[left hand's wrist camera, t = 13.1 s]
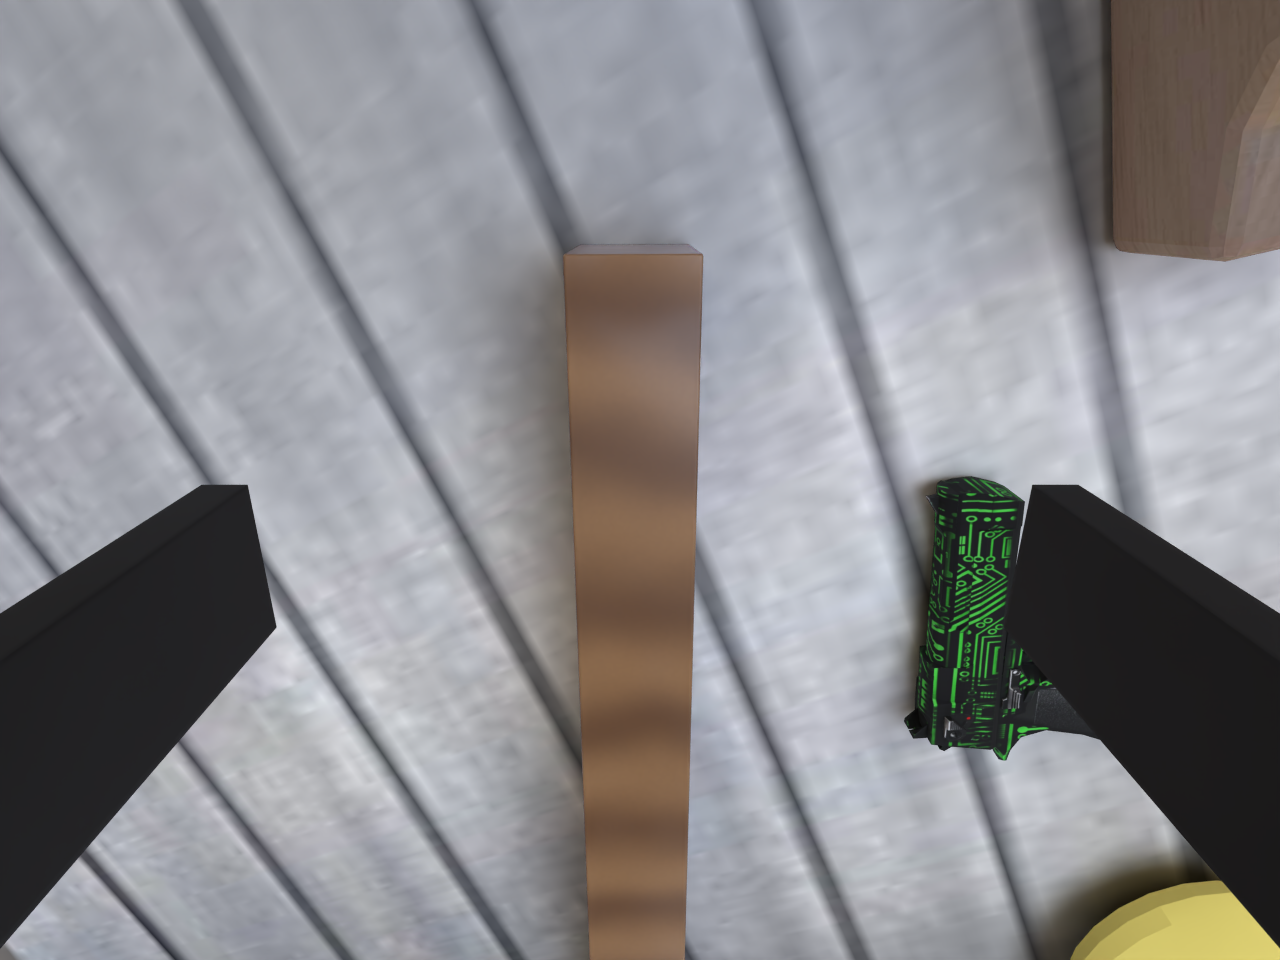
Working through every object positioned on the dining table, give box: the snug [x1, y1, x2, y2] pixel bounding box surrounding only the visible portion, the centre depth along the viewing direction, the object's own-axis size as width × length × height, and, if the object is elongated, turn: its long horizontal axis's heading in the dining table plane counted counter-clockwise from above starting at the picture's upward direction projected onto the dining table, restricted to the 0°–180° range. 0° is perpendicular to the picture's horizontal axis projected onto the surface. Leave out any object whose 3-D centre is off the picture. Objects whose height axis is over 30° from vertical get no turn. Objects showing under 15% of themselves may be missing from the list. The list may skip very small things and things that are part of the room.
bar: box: [563, 244, 703, 960], centre depth 38 cm, size 52×5×7 cm, turn 0°
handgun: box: [904, 476, 1100, 760], centre depth 38 cm, size 16×3×15 cm
